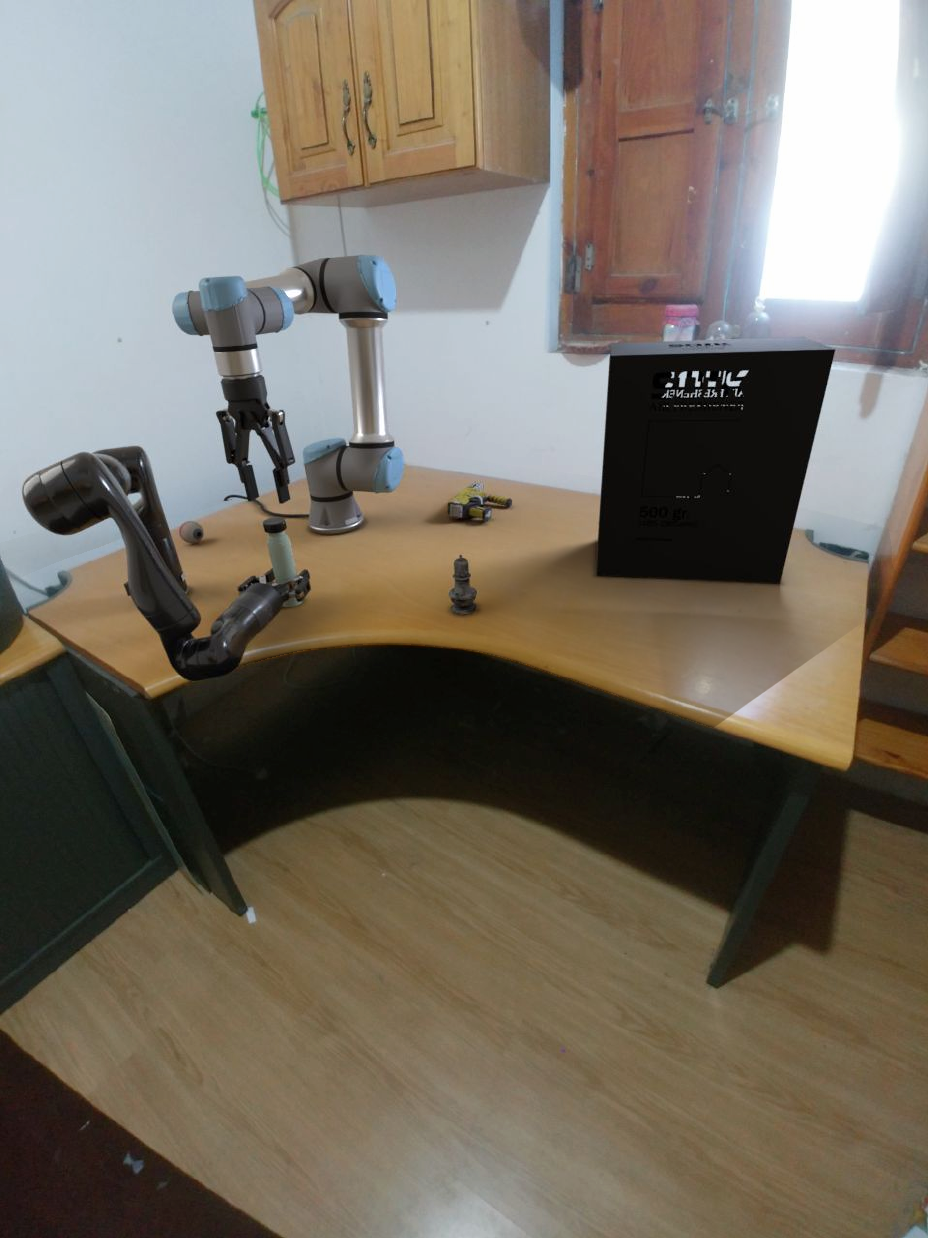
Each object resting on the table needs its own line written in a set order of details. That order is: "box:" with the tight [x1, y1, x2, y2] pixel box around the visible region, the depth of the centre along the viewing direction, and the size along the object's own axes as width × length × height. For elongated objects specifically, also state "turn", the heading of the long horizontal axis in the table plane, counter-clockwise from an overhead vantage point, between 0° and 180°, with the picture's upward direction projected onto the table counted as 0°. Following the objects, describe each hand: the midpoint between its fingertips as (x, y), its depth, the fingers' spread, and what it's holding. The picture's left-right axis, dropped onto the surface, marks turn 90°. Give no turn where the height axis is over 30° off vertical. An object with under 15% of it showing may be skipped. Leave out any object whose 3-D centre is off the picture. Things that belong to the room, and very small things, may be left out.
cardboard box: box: [595, 336, 836, 584], centre depth 127 cm, size 38×20×45 cm, turn 78°
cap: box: [262, 516, 288, 534], centre depth 122 cm, size 4×4×2 cm
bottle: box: [266, 530, 303, 608], centre depth 126 cm, size 5×5×18 cm
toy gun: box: [446, 480, 513, 523], centre depth 174 cm, size 5×24×15 cm
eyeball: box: [178, 520, 205, 545], centre depth 161 cm, size 6×6×6 cm
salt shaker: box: [448, 554, 478, 615], centre depth 121 cm, size 6×6×12 cm
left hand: (290, 572), depth 129 cm, fingers open, 7 cm apart
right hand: (269, 499), depth 119 cm, fingers open, 7 cm apart
